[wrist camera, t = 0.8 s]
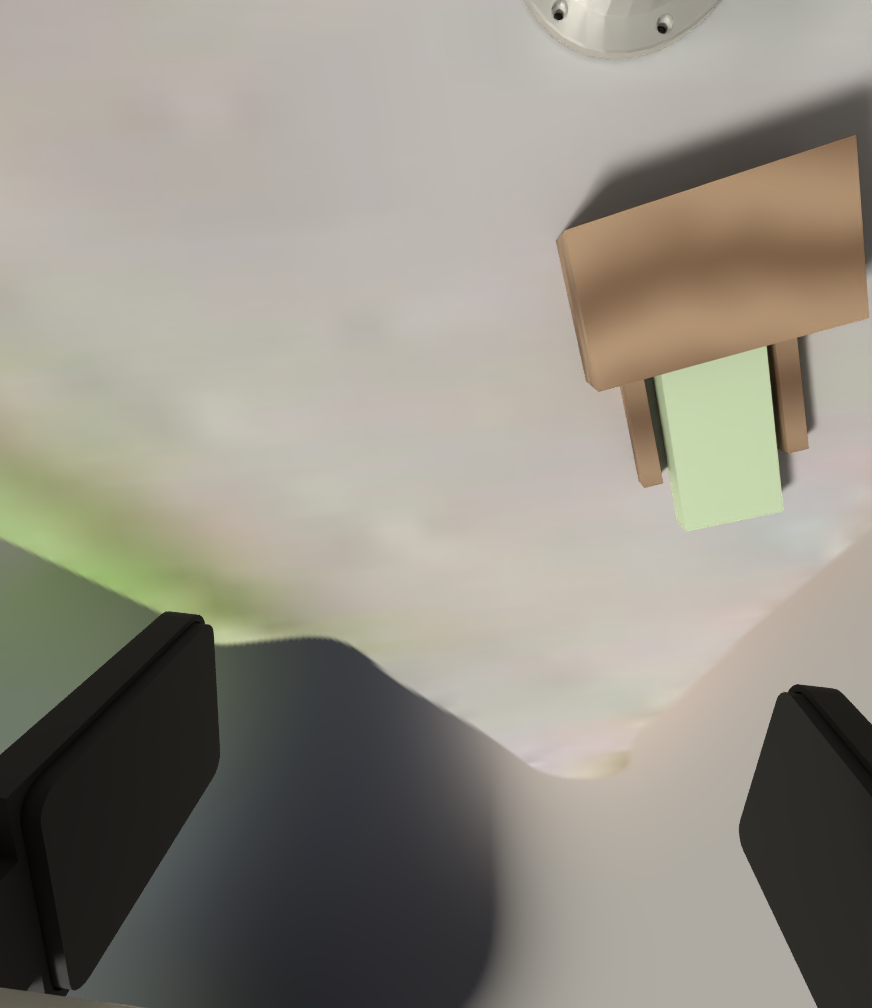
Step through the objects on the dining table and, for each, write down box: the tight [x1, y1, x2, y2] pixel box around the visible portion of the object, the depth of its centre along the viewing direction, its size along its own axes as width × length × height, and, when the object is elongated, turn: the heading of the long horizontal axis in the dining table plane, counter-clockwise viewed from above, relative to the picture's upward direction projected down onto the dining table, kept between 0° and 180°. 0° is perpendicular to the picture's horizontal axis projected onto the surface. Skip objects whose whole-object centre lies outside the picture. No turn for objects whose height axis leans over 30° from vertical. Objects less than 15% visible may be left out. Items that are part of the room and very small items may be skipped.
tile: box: [653, 346, 783, 532], centre depth 37 cm, size 11×6×2 cm, turn 16°
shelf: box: [556, 135, 869, 488], centre depth 33 cm, size 16×14×5 cm
